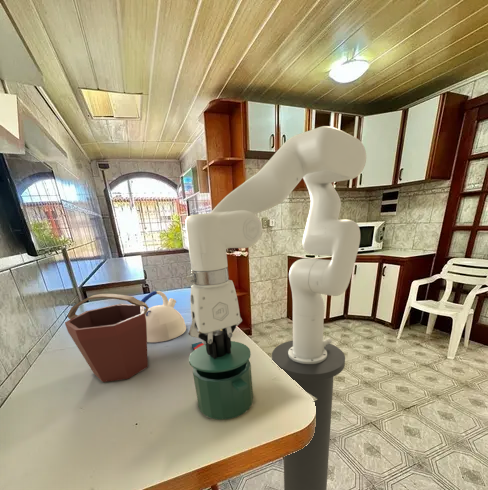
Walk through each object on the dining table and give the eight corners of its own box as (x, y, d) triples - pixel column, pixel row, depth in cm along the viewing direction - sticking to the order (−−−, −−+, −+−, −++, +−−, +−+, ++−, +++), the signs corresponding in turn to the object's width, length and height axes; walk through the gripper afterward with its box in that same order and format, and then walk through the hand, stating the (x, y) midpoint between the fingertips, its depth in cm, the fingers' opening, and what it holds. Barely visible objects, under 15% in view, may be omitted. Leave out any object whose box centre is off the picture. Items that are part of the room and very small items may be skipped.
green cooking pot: (230, 375, 79) (226, 343, 75) (270, 409, 64) (268, 372, 60) (186, 393, 73) (180, 359, 69) (219, 435, 57) (214, 395, 53)
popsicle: (203, 361, 85) (190, 344, 98) (203, 365, 85) (191, 347, 98) (216, 357, 87) (202, 341, 99) (216, 361, 87) (202, 344, 100)
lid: (231, 339, 73) (229, 316, 70) (263, 360, 61) (261, 333, 59) (180, 356, 66) (175, 331, 63) (205, 383, 54) (201, 354, 52)
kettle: (196, 326, 118) (190, 286, 111) (163, 346, 101) (153, 300, 94) (162, 321, 127) (154, 284, 120) (126, 339, 110) (115, 296, 103)
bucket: (172, 355, 94) (158, 285, 84) (129, 393, 74) (105, 308, 65) (116, 350, 101) (98, 285, 92) (64, 383, 82) (34, 306, 72)
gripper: (180, 287, 49) (193, 372, 56) (252, 272, 57) (257, 349, 64) (167, 281, 55) (181, 358, 62) (234, 268, 63) (240, 339, 70)
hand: (219, 353), depth 63 cm, fingers closed on lid, 3 cm apart
